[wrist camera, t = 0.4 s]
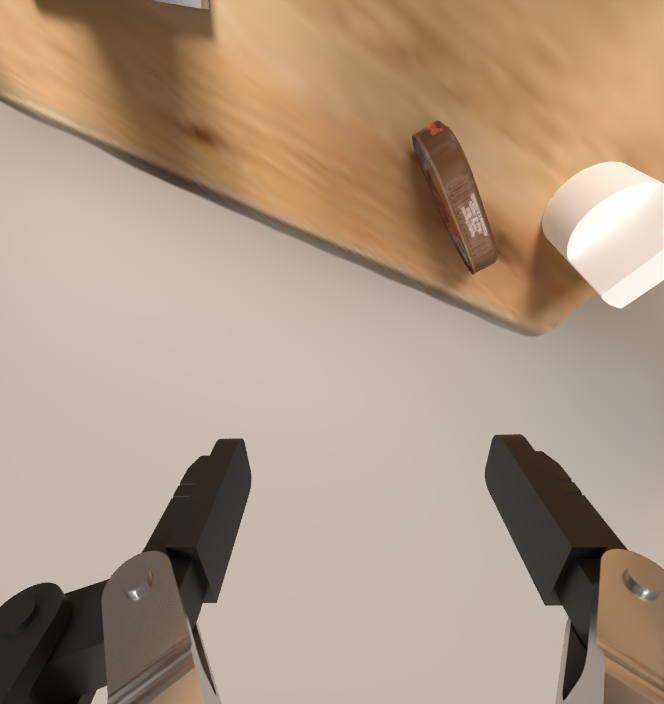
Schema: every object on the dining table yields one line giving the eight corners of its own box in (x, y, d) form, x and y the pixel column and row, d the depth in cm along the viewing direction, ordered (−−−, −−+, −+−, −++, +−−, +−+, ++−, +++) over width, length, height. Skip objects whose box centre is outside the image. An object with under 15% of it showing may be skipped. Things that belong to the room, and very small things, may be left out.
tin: (404, 127, 31) (418, 152, 25) (437, 105, 29) (459, 125, 24) (456, 251, 39) (475, 291, 34) (482, 238, 38) (507, 277, 32)
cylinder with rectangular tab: (576, 258, 39) (638, 322, 31) (523, 224, 37) (575, 284, 28) (657, 189, 34) (760, 244, 25) (602, 143, 31) (696, 187, 23)
